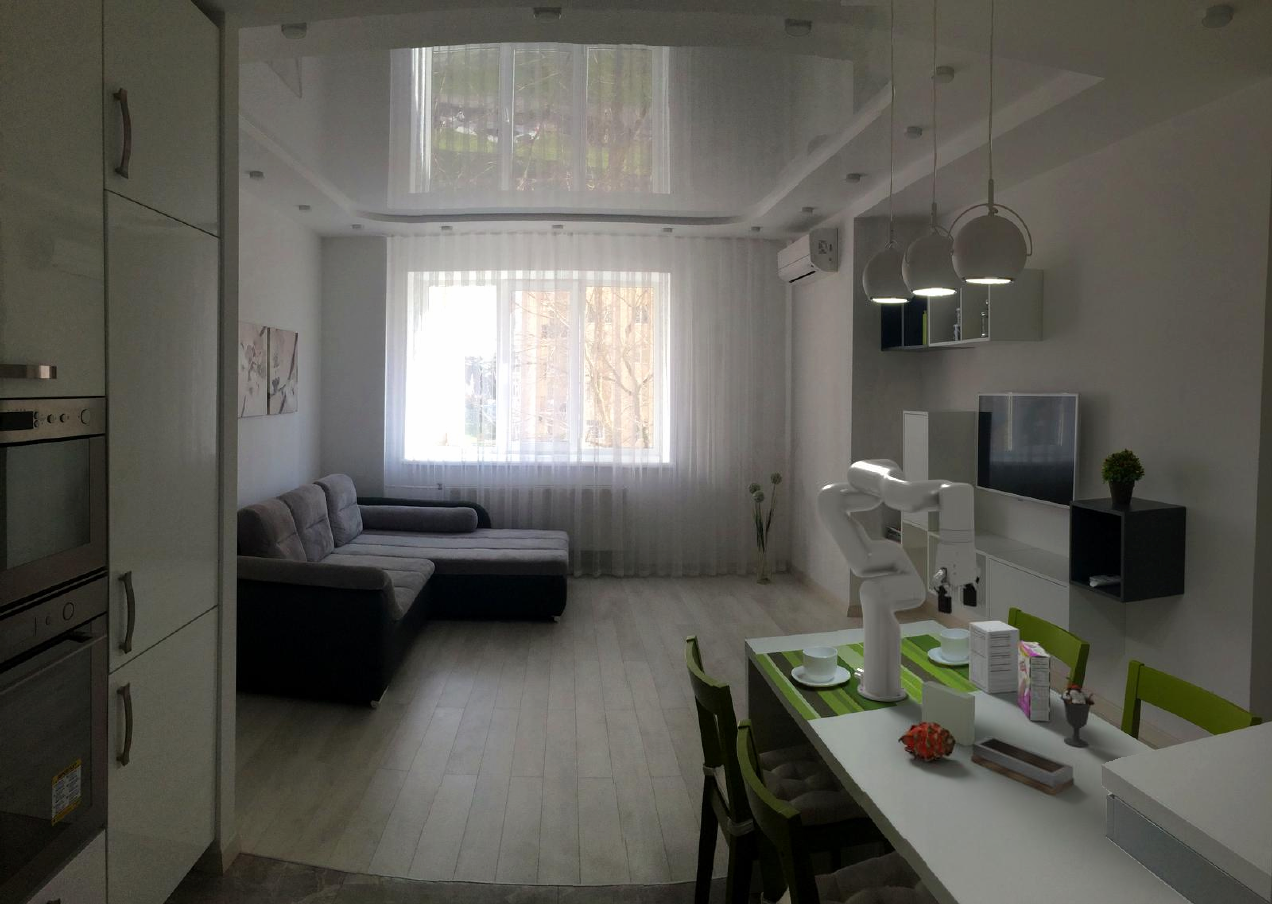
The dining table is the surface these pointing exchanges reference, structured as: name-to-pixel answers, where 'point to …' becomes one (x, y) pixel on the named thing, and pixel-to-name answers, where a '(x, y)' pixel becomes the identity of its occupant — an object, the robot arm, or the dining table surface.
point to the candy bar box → (1034, 681)
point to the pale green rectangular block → (949, 710)
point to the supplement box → (993, 656)
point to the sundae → (1076, 712)
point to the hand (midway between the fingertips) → (957, 609)
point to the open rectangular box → (1022, 764)
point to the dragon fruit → (928, 741)
